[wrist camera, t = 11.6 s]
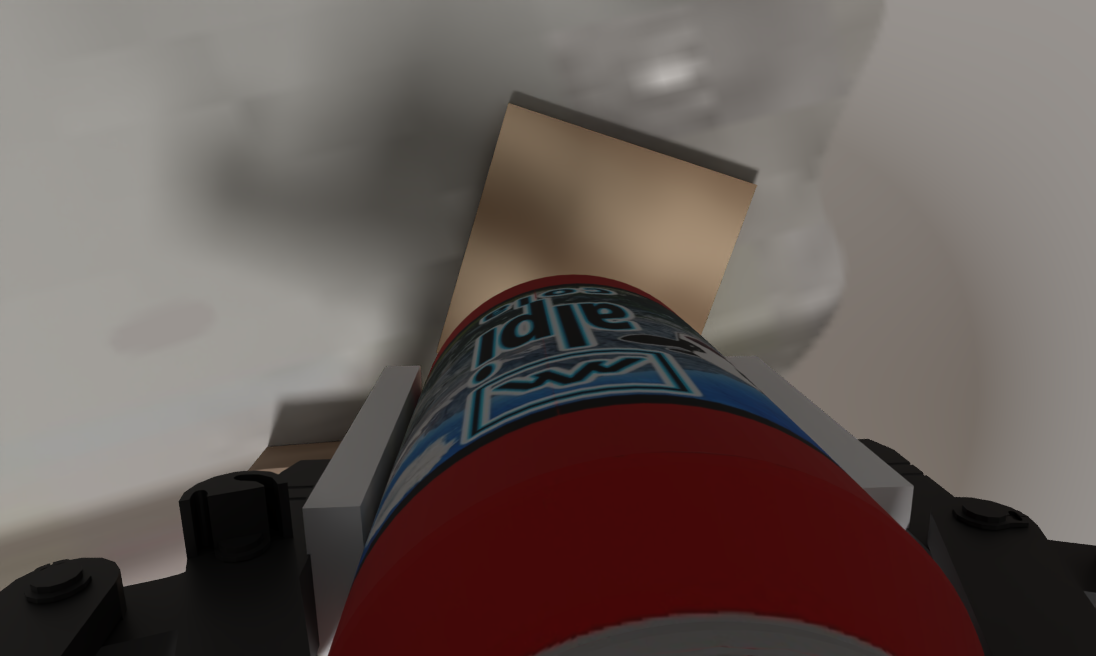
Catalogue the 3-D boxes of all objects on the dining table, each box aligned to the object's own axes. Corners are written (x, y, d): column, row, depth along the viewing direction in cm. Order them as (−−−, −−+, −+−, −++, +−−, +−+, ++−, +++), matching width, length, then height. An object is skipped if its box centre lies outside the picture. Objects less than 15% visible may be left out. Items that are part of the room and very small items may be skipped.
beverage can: (675, 231, 16) (1108, 434, 5) (735, 497, 18) (1165, 1147, 6) (385, 311, 16) (77, 713, 5) (470, 568, 18) (401, 1344, 6)
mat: (508, 103, 30) (508, 102, 29) (752, 184, 31) (756, 184, 31) (437, 348, 32) (436, 352, 32) (667, 414, 34) (669, 418, 33)
